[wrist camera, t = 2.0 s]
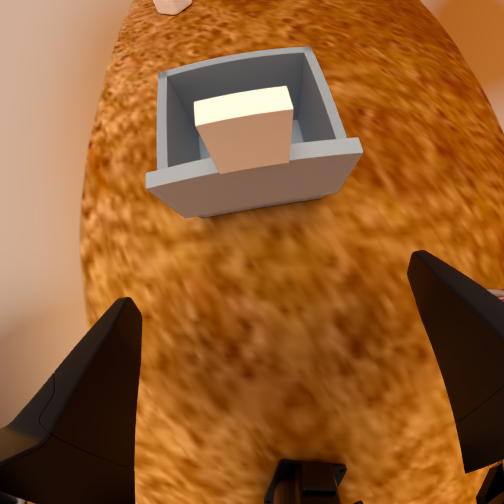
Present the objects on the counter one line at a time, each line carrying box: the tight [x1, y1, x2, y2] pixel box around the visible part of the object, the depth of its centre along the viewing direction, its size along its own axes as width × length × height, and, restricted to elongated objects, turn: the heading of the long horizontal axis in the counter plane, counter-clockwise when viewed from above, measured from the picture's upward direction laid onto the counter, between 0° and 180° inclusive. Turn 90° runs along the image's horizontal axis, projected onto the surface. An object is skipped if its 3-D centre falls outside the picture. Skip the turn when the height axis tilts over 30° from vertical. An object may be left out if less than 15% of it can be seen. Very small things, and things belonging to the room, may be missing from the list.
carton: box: [157, 47, 347, 218], centre depth 18 cm, size 8×10×9 cm
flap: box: [146, 86, 363, 218], centre depth 13 cm, size 1×10×10 cm, turn 99°
